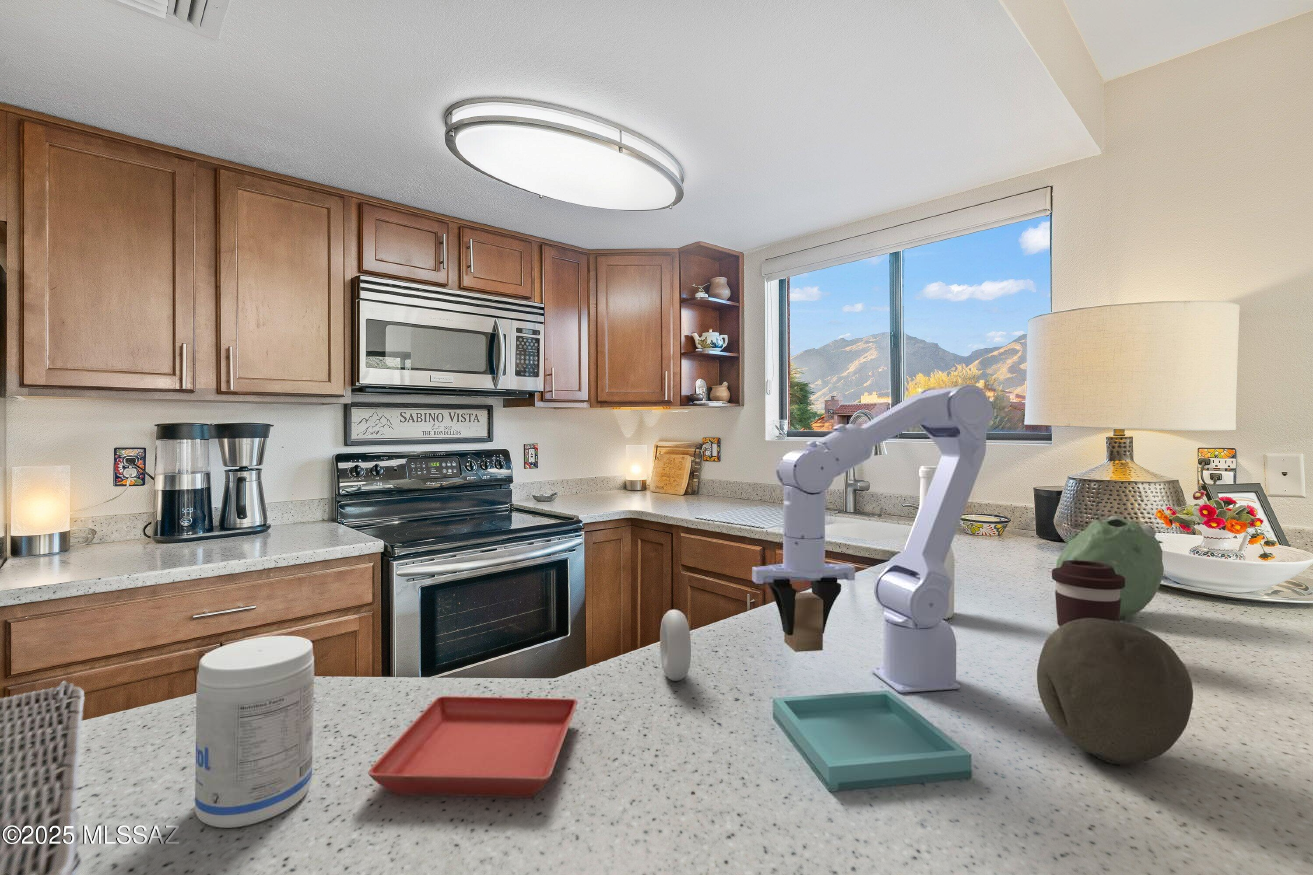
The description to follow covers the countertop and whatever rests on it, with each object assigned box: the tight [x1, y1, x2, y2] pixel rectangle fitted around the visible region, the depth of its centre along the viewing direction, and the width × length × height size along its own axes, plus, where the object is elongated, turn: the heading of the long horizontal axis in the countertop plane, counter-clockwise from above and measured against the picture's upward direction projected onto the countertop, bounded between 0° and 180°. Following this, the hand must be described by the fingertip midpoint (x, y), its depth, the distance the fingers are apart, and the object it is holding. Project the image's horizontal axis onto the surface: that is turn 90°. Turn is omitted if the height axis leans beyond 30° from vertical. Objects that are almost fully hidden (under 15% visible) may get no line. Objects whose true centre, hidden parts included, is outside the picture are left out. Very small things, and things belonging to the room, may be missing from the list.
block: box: [783, 591, 824, 653], centre depth 84 cm, size 4×4×7 cm
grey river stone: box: [1036, 618, 1194, 766], centre depth 68 cm, size 14×14×15 cm
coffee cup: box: [1051, 560, 1125, 628], centre depth 100 cm, size 10×10×15 cm
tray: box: [772, 689, 973, 792], centre depth 70 cm, size 16×16×2 cm
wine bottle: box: [903, 465, 956, 620], centre depth 121 cm, size 10×10×30 cm
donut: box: [659, 608, 692, 682], centre depth 89 cm, size 10×4×10 cm, turn 9°
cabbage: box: [1055, 515, 1165, 618], centre depth 121 cm, size 16×19×20 cm
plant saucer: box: [367, 695, 579, 798], centre depth 67 cm, size 18×18×3 cm
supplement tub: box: [194, 635, 315, 829], centre depth 58 cm, size 10×10×15 cm
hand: (803, 632), depth 84 cm, fingers closed on block, 4 cm apart
